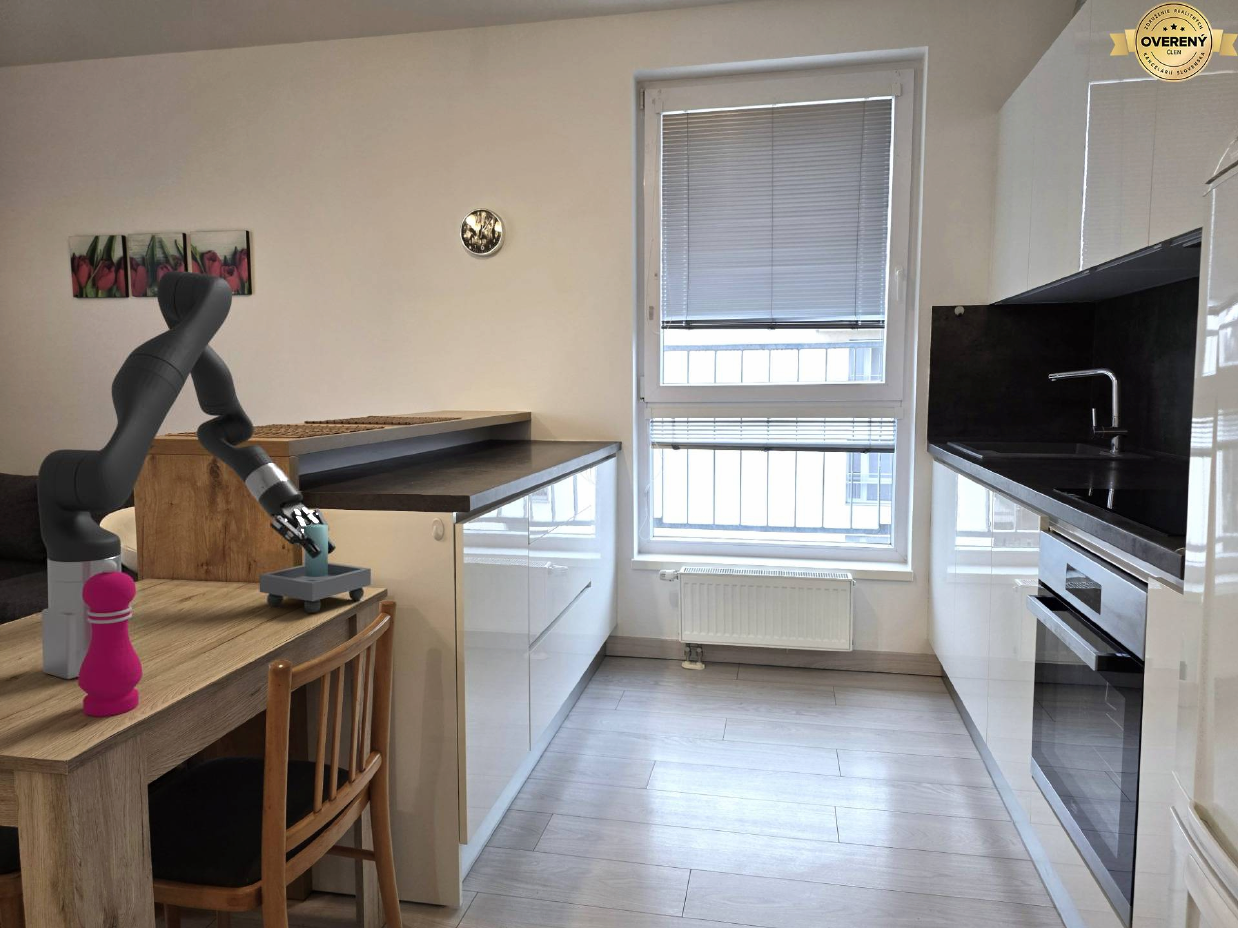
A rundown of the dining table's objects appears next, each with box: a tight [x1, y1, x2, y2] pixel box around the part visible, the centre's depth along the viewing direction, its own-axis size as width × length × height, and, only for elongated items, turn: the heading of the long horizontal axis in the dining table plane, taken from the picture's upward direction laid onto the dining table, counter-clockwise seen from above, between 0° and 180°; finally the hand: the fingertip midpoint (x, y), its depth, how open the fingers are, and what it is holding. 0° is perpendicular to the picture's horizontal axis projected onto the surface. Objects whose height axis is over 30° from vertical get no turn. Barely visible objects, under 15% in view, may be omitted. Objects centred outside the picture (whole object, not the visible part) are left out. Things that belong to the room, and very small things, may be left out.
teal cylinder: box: [304, 524, 329, 577], centre depth 162 cm, size 4×4×10 cm
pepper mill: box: [77, 560, 143, 717], centre depth 106 cm, size 7×7×20 cm
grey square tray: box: [259, 561, 372, 614], centre depth 163 cm, size 16×14×6 cm
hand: (324, 553), depth 162 cm, fingers closed on teal cylinder, 4 cm apart
